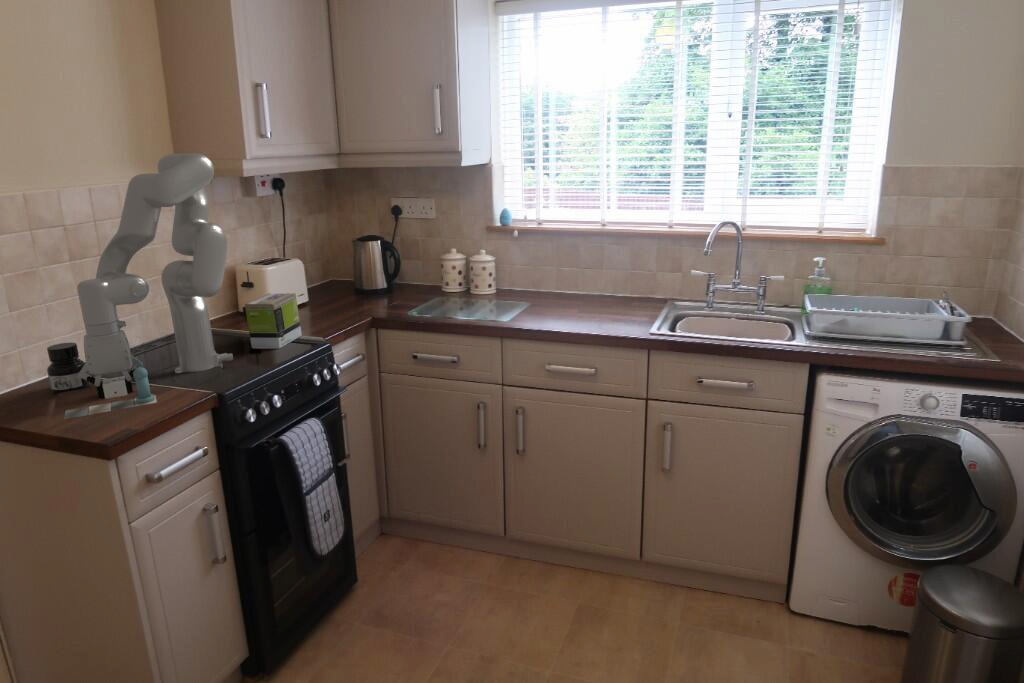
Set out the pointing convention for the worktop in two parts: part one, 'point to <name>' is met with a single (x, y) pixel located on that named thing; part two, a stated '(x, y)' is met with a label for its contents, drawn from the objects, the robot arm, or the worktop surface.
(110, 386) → the die
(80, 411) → the board
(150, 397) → the pawn
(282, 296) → the tea box
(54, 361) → the ink bottle
